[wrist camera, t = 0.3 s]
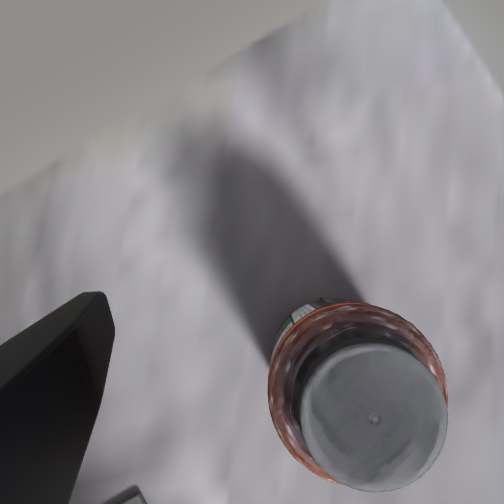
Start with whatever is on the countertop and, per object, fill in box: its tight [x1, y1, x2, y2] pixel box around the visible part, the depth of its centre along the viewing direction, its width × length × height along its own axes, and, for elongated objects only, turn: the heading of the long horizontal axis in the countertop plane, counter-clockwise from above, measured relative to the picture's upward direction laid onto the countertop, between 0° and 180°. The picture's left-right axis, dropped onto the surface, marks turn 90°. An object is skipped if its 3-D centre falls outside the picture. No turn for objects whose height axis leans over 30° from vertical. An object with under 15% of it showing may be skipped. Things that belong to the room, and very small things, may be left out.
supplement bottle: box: [268, 298, 448, 492], centre depth 18 cm, size 6×6×11 cm
